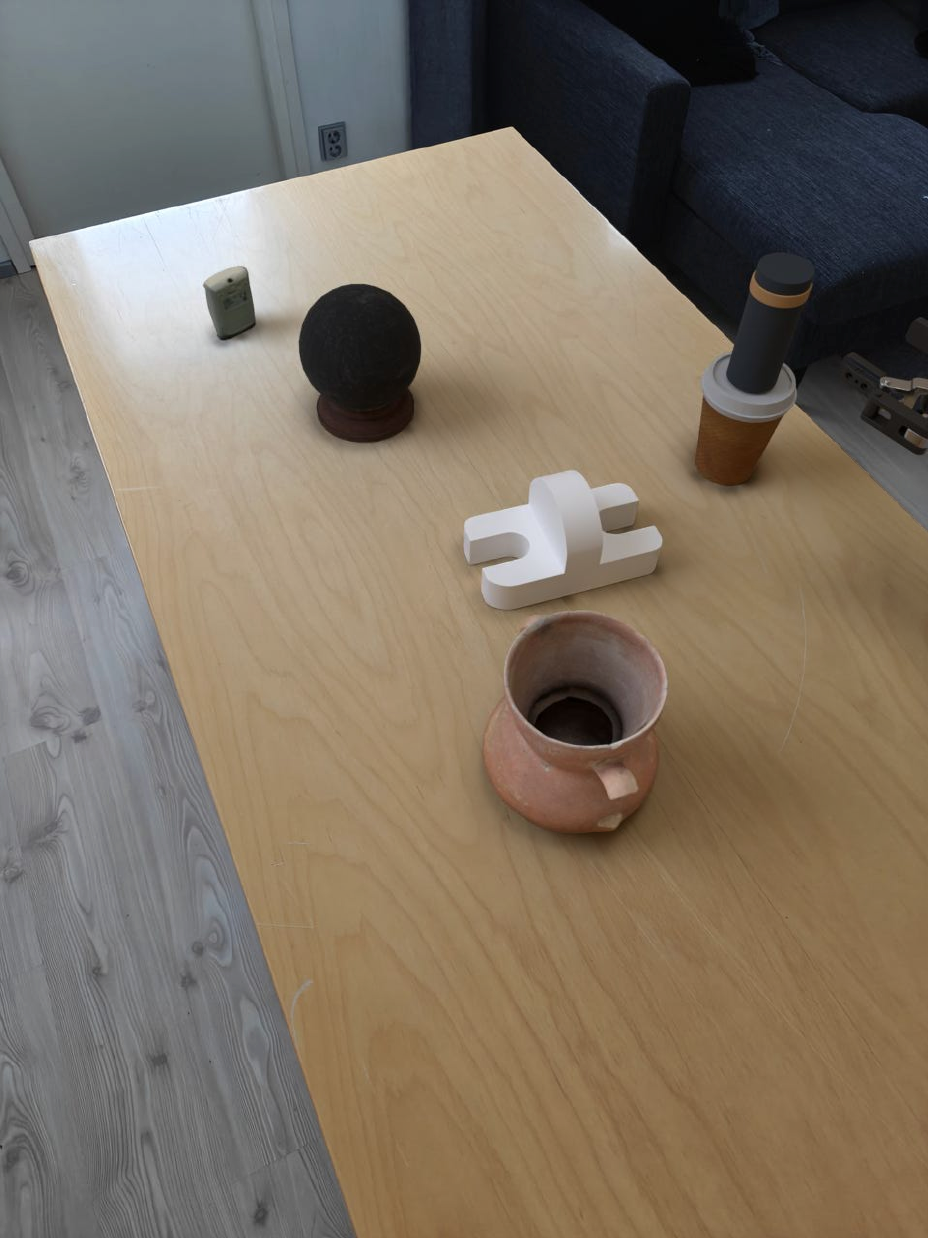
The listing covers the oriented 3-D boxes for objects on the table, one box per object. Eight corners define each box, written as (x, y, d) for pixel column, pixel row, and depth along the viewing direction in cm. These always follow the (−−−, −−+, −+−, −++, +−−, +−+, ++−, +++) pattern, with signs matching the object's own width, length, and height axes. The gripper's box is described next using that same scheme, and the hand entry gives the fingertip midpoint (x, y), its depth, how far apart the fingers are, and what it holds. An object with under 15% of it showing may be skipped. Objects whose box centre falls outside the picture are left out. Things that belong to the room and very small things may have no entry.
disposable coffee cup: (663, 451, 103) (685, 362, 93) (731, 426, 106) (760, 337, 96) (714, 507, 98) (743, 419, 88) (785, 478, 101) (821, 390, 91)
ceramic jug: (687, 831, 76) (728, 745, 64) (520, 883, 73) (533, 802, 61) (601, 658, 86) (623, 558, 75) (452, 698, 83) (452, 599, 72)
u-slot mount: (491, 615, 89) (495, 546, 81) (459, 544, 94) (460, 473, 86) (661, 571, 92) (680, 501, 85) (621, 505, 98) (636, 433, 90)
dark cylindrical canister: (769, 359, 94) (806, 250, 84) (785, 392, 91) (824, 283, 81) (718, 361, 94) (749, 252, 84) (732, 395, 90) (765, 285, 81)
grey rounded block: (245, 348, 113) (232, 290, 107) (205, 340, 114) (191, 282, 108) (263, 321, 117) (252, 263, 110) (224, 314, 117) (211, 256, 111)
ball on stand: (443, 394, 108) (442, 279, 97) (386, 463, 101) (378, 348, 89) (347, 360, 112) (335, 246, 100) (286, 425, 105) (264, 309, 93)
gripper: (1127, 380, 70) (950, 277, 78) (1011, 454, 65) (835, 336, 73) (1074, 454, 76) (915, 351, 84) (964, 526, 71) (806, 410, 79)
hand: (878, 344), depth 79 cm, fingers open, 8 cm apart
